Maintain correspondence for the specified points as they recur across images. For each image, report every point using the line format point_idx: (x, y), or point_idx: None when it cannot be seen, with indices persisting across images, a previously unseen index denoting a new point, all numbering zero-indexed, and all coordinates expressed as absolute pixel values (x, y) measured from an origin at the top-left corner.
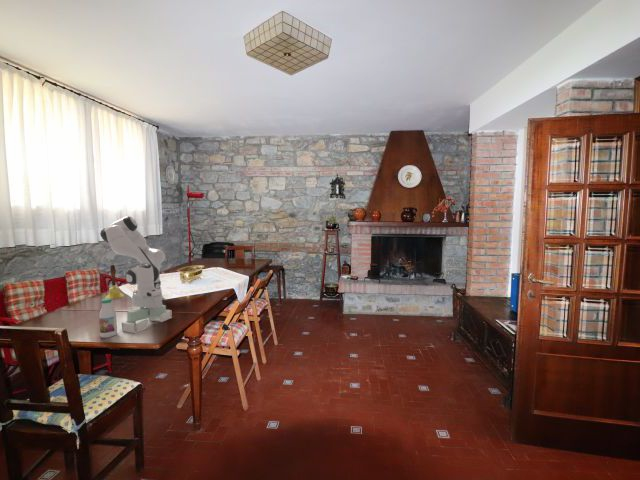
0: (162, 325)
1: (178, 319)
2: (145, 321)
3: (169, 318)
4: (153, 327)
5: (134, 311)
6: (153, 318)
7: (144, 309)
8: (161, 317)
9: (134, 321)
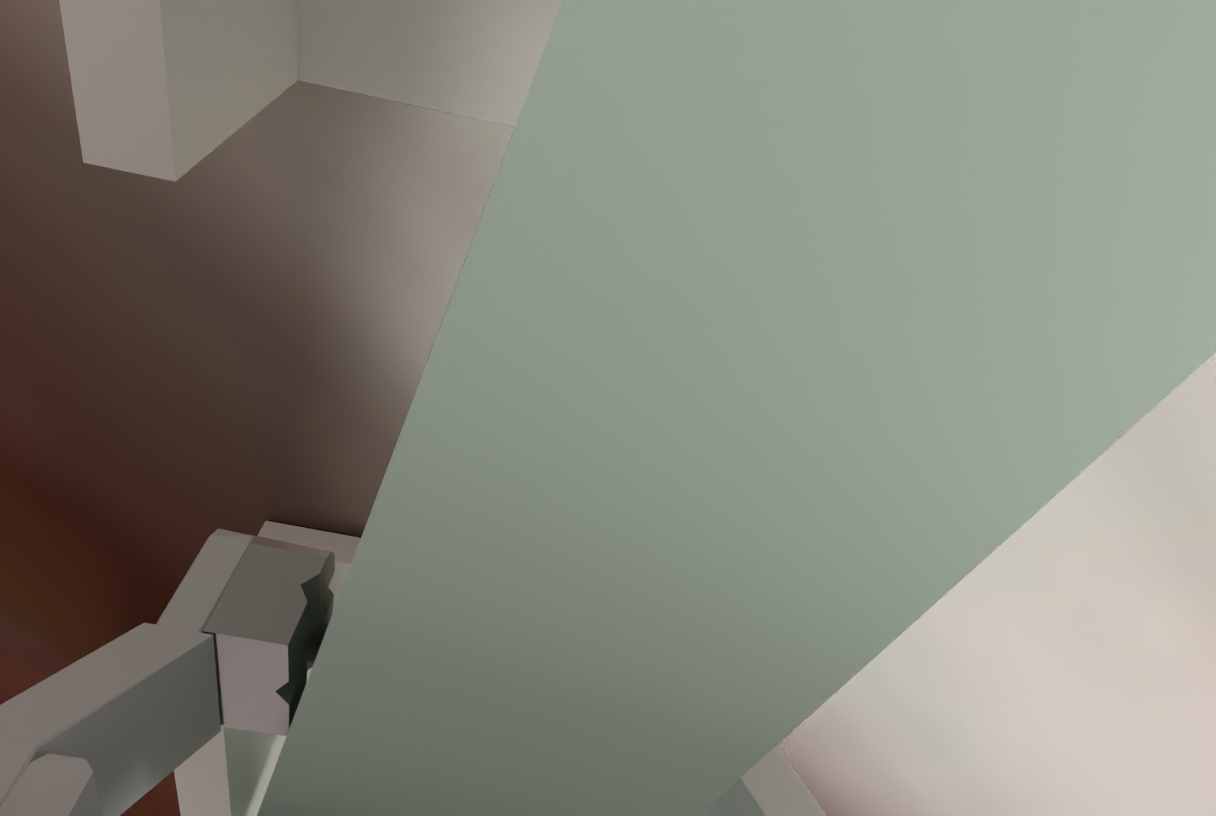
0: (7, 318)
1: (39, 673)
2: (87, 29)
3: None
4: None
5: (607, 151)
6: None
7: (354, 750)
8: None
9: None
